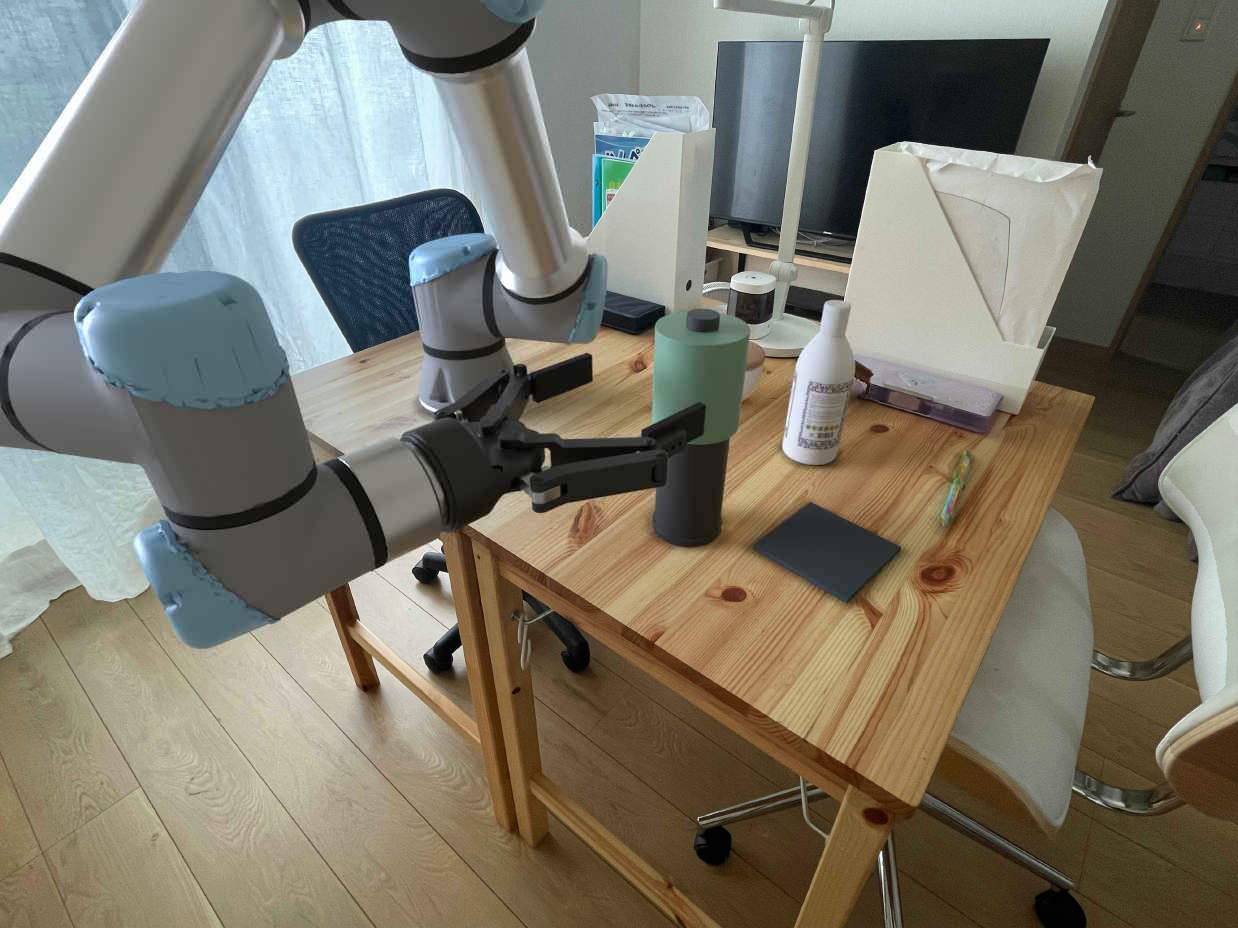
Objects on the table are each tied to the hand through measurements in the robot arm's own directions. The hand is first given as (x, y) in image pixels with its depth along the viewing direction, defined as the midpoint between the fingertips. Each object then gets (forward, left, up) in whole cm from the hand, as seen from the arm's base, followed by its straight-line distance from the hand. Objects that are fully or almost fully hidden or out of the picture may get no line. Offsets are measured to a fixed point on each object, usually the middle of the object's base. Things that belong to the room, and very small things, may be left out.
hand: (641, 390), depth 55 cm
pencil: (+5, +40, -19) cm, 44 cm away
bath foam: (-10, +29, -19) cm, 36 cm away
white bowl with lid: (-28, +27, -19) cm, 43 cm away
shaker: (-3, +7, -19) cm, 21 cm away
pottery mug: (-21, +42, -19) cm, 51 cm away
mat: (+7, +19, -19) cm, 28 cm away
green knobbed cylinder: (-3, +7, -6) cm, 10 cm away
